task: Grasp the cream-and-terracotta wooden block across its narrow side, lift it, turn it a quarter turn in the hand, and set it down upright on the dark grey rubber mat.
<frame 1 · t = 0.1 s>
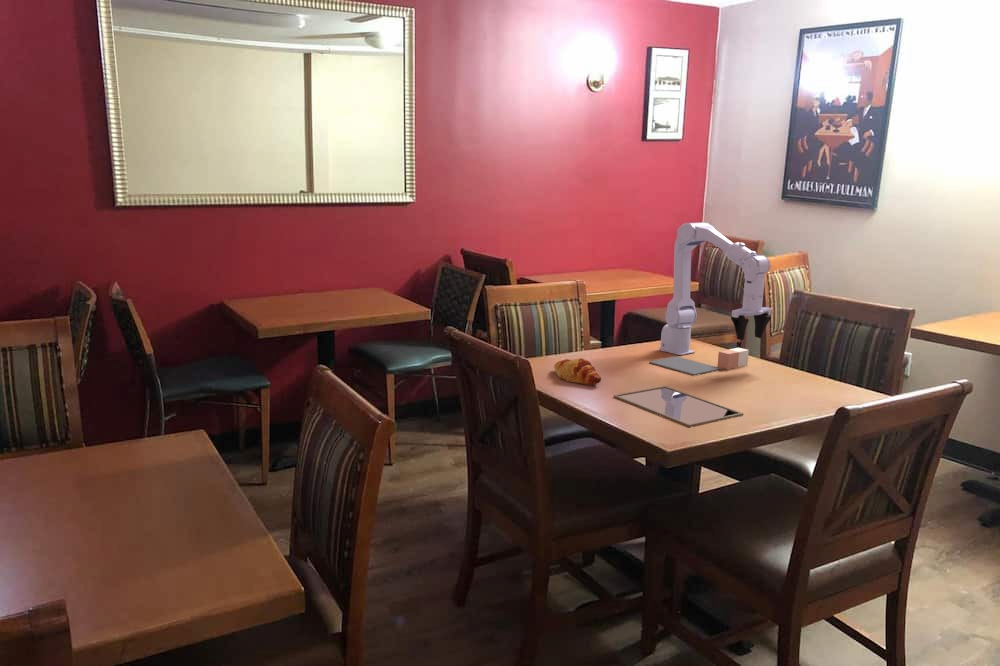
hand: (749, 338, 240), 10 cm above the table, tool pointing down, fingers open, 7 cm apart
croissant: (577, 380, 228), on the table
mat: (684, 366, 245), on the table
picture frame: (676, 408, 204), on the table
two-tone block: (732, 366, 247), on the table
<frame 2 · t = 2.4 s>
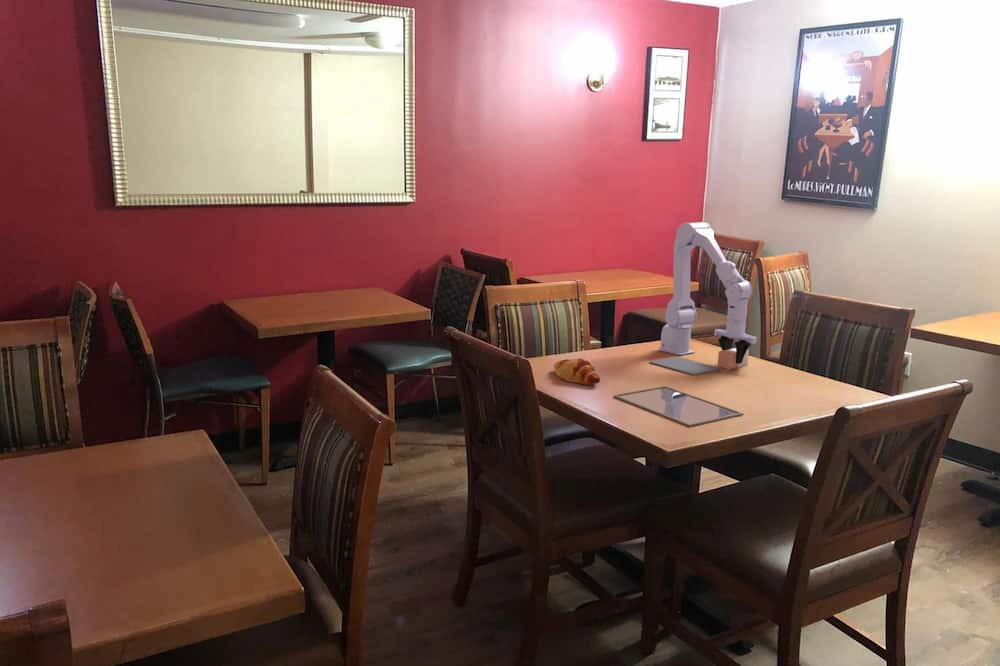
hand: (732, 361, 246), 1 cm above the table, tool pointing down, fingers closed on two-tone block, 4 cm apart
two-tone block: (732, 365, 247), on the table, touching gripper
everything else where it was.
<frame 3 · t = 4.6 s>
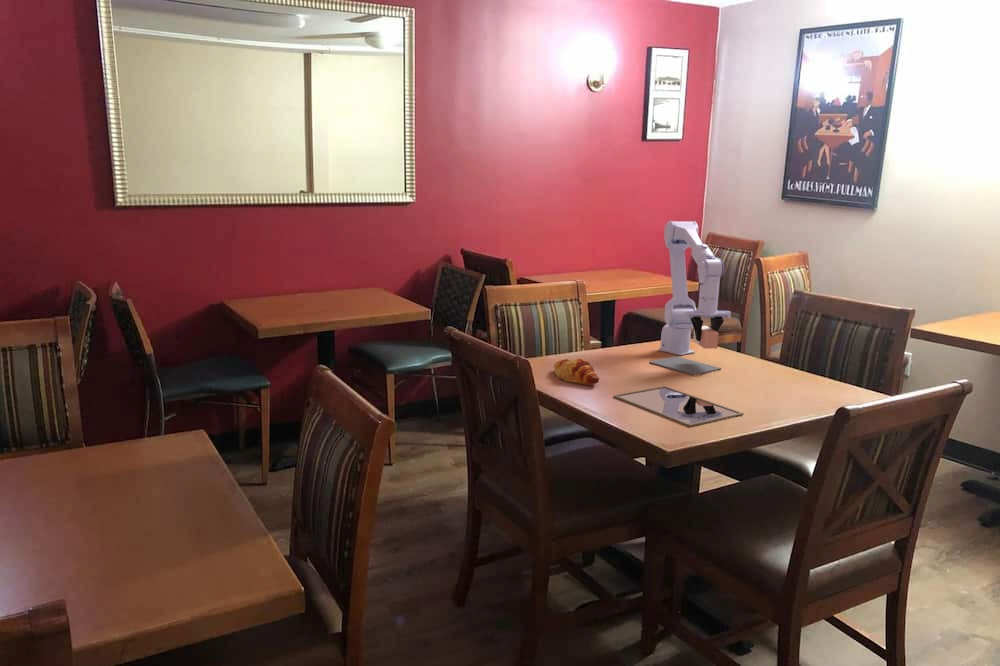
hand: (705, 340, 244), 8 cm above the table, tool pointing down, fingers closed on two-tone block, 4 cm apart
two-tone block: (705, 344, 244), point 7 cm above the table, touching gripper
everything else where it was.
when the fingers open (3 cm above the table, at t = 6.8 s): two-tone block drops 1 cm, resting on mat.
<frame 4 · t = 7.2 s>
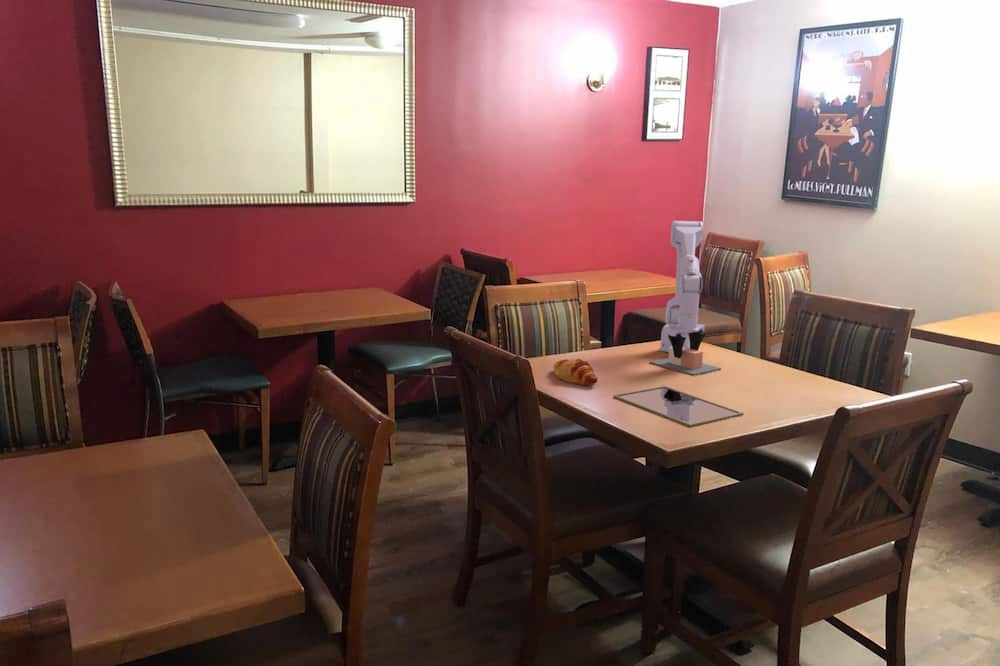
hand: (685, 355, 244), 3 cm above the table, tool pointing down, fingers open, 7 cm apart
two-tone block: (684, 364, 245), resting on mat
everything else where it was.
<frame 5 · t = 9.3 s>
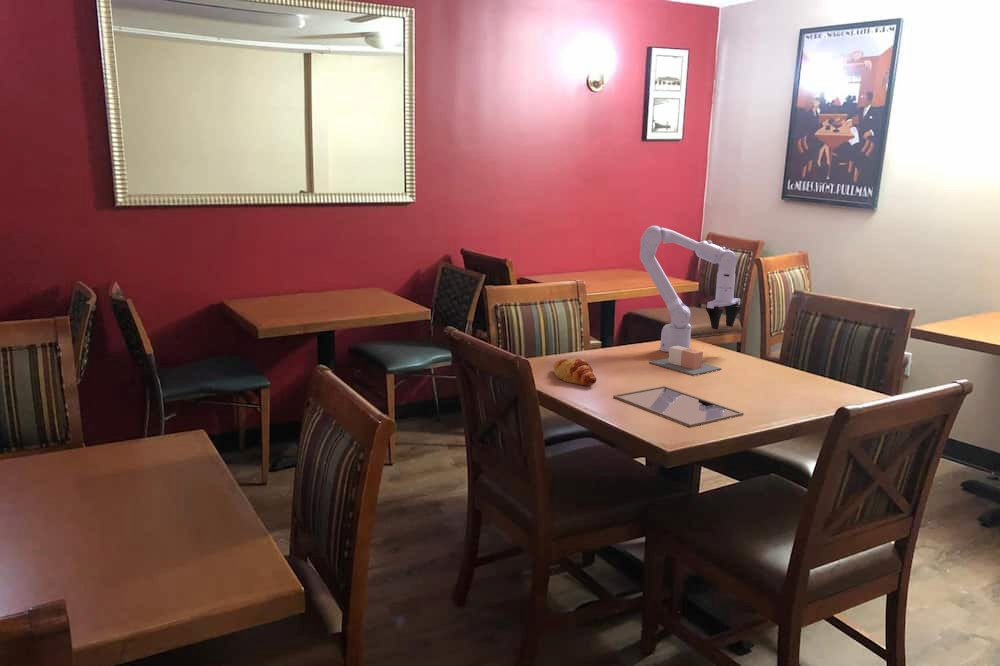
hand: (722, 327, 258), 9 cm above the table, tool pointing down, fingers open, 7 cm apart
nothing on the table moved.
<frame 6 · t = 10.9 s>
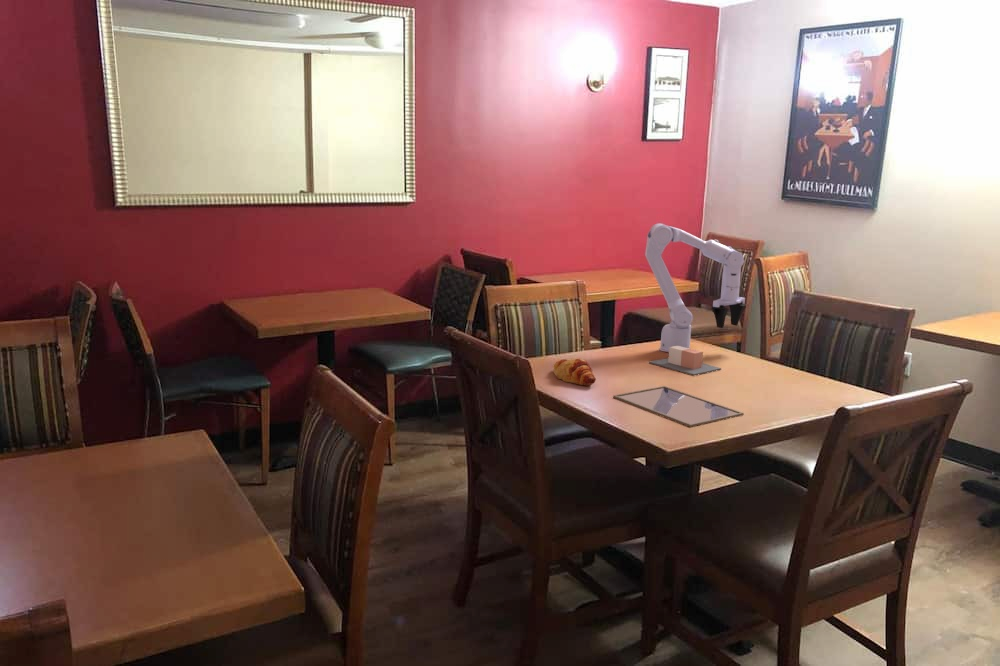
hand: (727, 326, 261), 9 cm above the table, tool pointing down, fingers open, 7 cm apart
nothing on the table moved.
at the end: two-tone block 0.0 cm from the mat (horizontally); two-tone block tilted 0°; two-tone block touching mat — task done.
